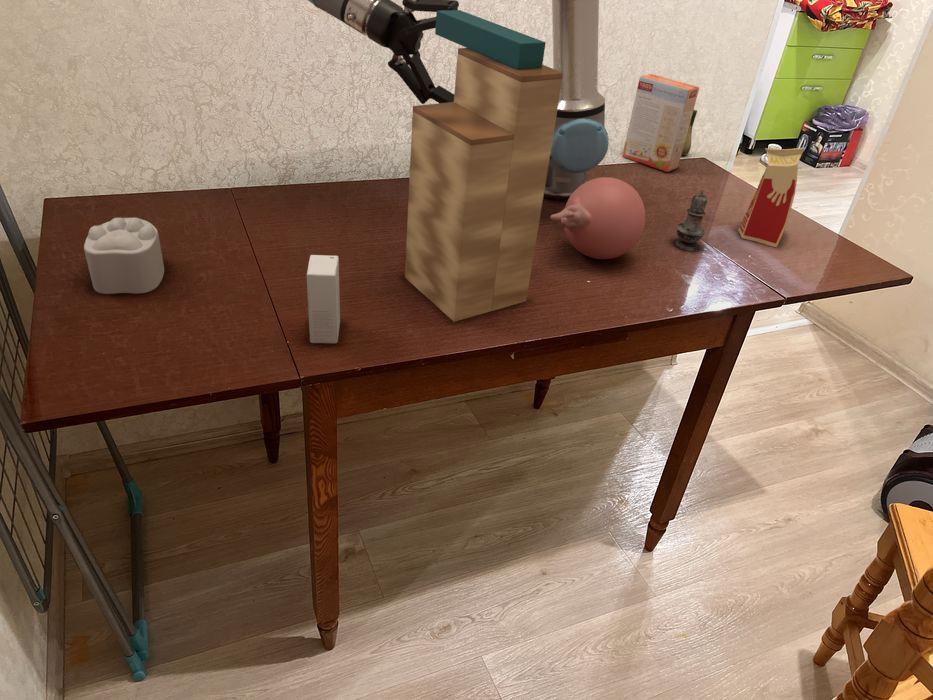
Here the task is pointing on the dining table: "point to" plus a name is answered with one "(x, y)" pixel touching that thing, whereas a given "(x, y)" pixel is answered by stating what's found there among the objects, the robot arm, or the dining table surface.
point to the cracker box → (660, 122)
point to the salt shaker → (692, 224)
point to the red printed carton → (772, 198)
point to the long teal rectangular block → (490, 39)
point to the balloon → (603, 218)
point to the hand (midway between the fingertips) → (475, 77)
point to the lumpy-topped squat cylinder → (124, 256)
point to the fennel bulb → (689, 135)
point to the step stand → (480, 185)
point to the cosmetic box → (323, 298)
